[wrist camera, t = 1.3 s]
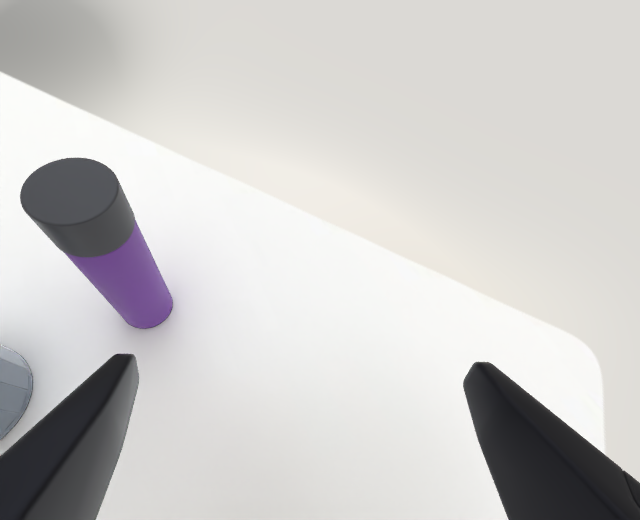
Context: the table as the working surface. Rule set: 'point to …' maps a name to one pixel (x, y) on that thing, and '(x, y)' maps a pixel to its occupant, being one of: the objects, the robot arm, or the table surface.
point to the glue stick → (98, 235)
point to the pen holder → (13, 388)
